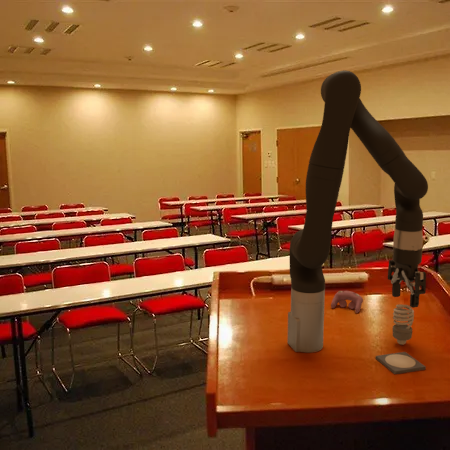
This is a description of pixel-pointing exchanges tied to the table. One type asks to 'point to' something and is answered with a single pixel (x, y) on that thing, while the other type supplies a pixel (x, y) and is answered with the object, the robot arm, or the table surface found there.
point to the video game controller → (347, 295)
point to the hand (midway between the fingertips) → (404, 301)
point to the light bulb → (403, 323)
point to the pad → (400, 362)
